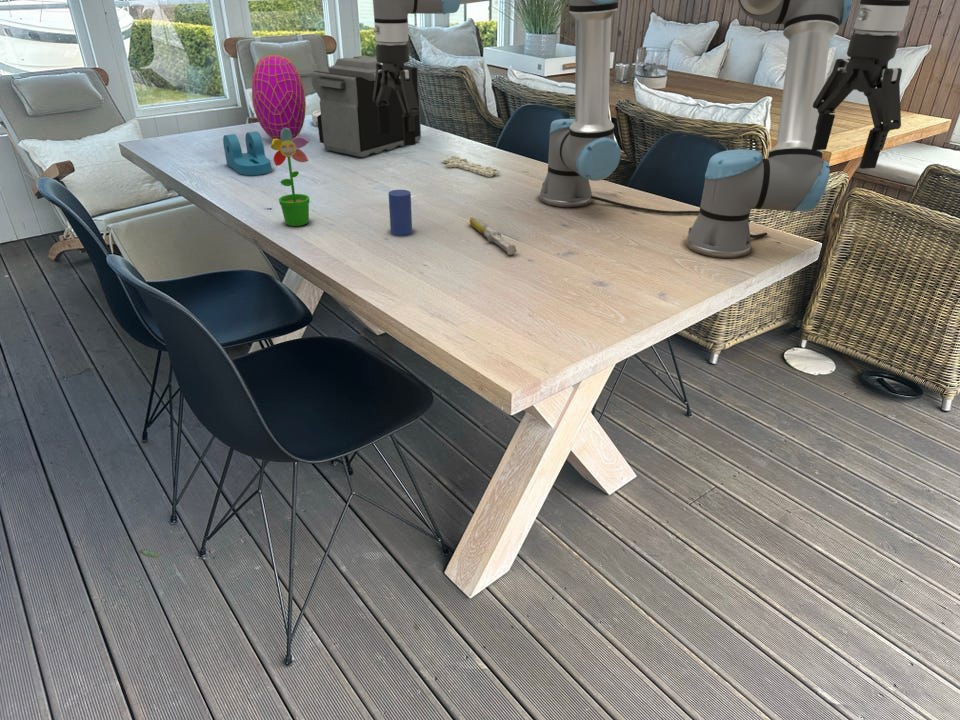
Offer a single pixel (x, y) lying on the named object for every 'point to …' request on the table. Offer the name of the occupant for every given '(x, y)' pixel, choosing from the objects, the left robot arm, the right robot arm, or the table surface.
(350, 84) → the cooler box
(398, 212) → the can
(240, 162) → the camera mount
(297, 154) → the potted flower
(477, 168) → the decorative sign
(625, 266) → the table surface
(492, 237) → the syringe
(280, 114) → the decorative egg
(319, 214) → the table surface
